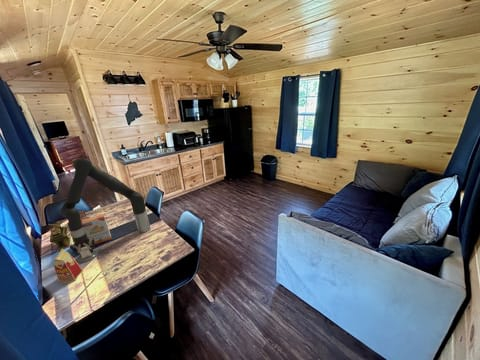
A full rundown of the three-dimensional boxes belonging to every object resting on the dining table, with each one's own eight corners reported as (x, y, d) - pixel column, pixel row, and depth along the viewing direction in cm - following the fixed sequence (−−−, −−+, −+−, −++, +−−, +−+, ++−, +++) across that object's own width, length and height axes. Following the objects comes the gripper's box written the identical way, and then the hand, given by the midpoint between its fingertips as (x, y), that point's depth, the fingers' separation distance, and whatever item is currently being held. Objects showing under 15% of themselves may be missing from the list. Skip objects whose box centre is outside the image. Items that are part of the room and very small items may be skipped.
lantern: (92, 218, 170) (81, 208, 188) (79, 223, 164) (68, 212, 181) (95, 228, 174) (84, 217, 192) (83, 233, 167) (72, 222, 185)
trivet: (98, 248, 149) (98, 247, 149) (97, 258, 139) (96, 257, 139) (78, 254, 144) (78, 253, 144) (75, 265, 134) (75, 264, 134)
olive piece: (56, 241, 159) (46, 220, 151) (71, 236, 164) (62, 215, 157) (54, 255, 144) (42, 232, 136) (71, 249, 149) (61, 227, 142)
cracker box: (90, 246, 151) (81, 223, 143) (90, 242, 156) (81, 219, 148) (111, 239, 158) (104, 216, 150) (111, 235, 163) (103, 213, 155)
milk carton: (68, 272, 129) (56, 247, 121) (83, 270, 129) (72, 245, 122) (57, 284, 120) (44, 258, 113) (74, 282, 121) (61, 256, 113)
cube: (91, 251, 144) (89, 245, 142) (91, 255, 140) (88, 249, 138) (83, 253, 142) (81, 248, 140) (82, 258, 138) (79, 252, 136)
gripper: (92, 227, 141) (99, 247, 147) (66, 234, 134) (75, 254, 141) (90, 233, 135) (98, 253, 141) (63, 240, 128) (73, 261, 135)
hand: (86, 254), depth 141 cm, fingers closed on cube, 5 cm apart
